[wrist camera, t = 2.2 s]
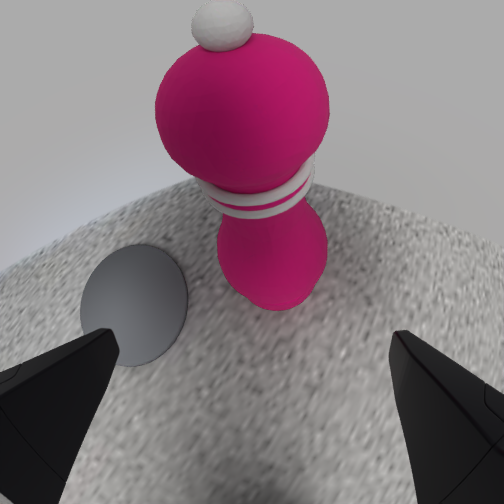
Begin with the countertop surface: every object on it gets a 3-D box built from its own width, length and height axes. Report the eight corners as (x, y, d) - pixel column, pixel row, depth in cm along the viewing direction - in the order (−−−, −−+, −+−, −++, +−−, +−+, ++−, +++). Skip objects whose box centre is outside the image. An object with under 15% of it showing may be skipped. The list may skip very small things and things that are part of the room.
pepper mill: (214, 279, 24) (62, 56, 6) (272, 217, 26) (221, -26, 8) (283, 336, 21) (199, 89, 4) (341, 265, 23) (394, -5, 5)
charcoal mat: (212, 323, 23) (209, 322, 22) (108, 387, 21) (104, 387, 21) (156, 226, 27) (154, 223, 27) (72, 287, 26) (69, 285, 26)
